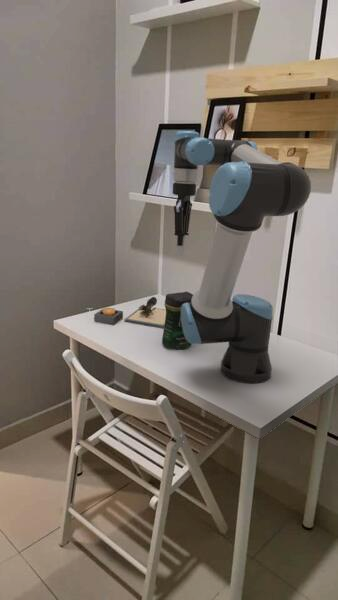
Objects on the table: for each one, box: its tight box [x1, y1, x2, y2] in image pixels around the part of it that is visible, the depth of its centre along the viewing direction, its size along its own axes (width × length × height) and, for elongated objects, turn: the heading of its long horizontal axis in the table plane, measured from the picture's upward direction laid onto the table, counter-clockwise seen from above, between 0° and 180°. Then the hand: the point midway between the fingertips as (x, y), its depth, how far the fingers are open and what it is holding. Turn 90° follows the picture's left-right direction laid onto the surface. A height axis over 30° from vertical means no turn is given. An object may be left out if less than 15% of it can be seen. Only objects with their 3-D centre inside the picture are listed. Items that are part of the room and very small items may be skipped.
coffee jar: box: [161, 291, 194, 351], centre depth 156 cm, size 10×8×19 cm
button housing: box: [93, 307, 124, 326], centre depth 179 cm, size 8×8×3 cm
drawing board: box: [123, 307, 166, 330], centre depth 184 cm, size 18×16×1 cm
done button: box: [102, 307, 116, 316], centre depth 178 cm, size 5×5×2 cm
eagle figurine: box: [138, 296, 158, 318], centre depth 183 cm, size 8×7×9 cm
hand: (180, 254), depth 158 cm, fingers closed
